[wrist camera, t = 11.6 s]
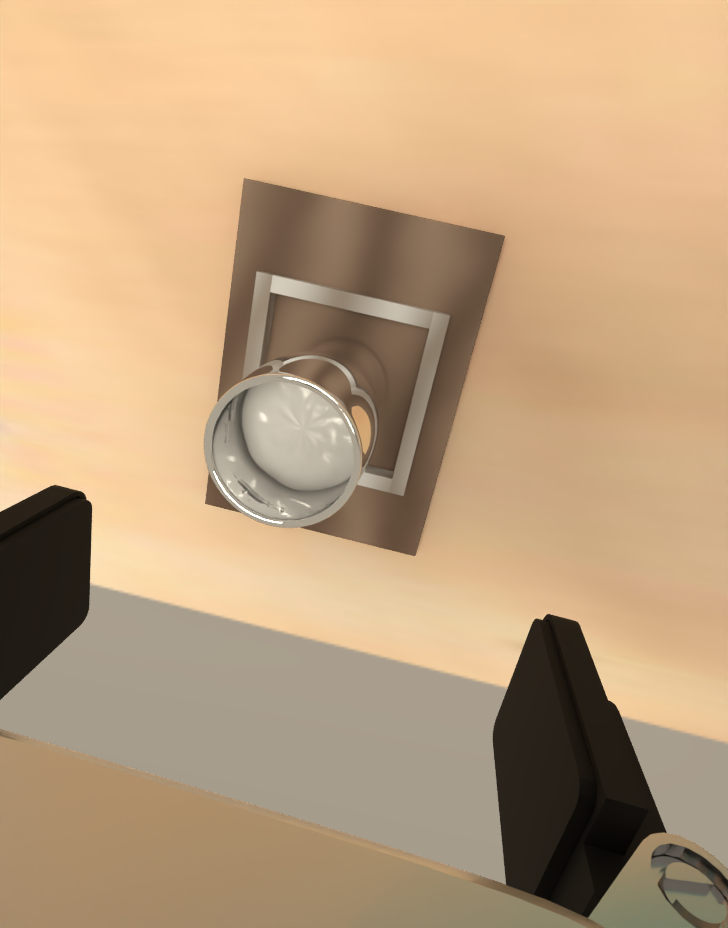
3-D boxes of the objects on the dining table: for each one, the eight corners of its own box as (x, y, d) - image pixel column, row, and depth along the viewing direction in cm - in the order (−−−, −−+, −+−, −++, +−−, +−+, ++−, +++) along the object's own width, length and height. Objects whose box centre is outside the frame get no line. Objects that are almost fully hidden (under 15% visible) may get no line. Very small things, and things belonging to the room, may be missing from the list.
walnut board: (501, 237, 33) (508, 233, 30) (415, 546, 41) (414, 566, 38) (251, 182, 34) (235, 173, 31) (212, 495, 41) (196, 512, 38)
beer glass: (295, 437, 37) (212, 533, 23) (284, 334, 35) (184, 372, 21) (395, 434, 36) (371, 532, 22) (390, 328, 34) (360, 364, 20)
